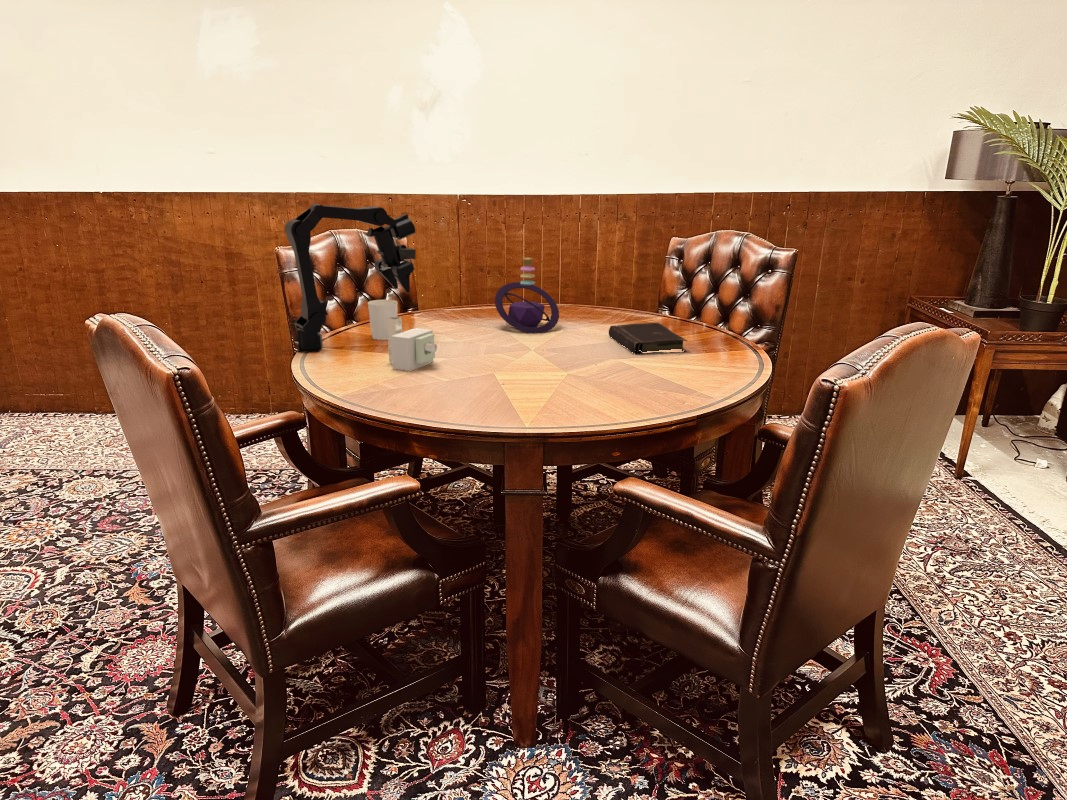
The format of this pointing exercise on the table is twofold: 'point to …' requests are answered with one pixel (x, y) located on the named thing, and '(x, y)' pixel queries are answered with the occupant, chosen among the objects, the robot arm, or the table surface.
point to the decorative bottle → (526, 305)
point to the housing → (407, 349)
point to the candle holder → (381, 317)
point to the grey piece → (396, 327)
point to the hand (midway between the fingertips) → (402, 290)
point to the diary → (646, 337)
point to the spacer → (420, 348)
